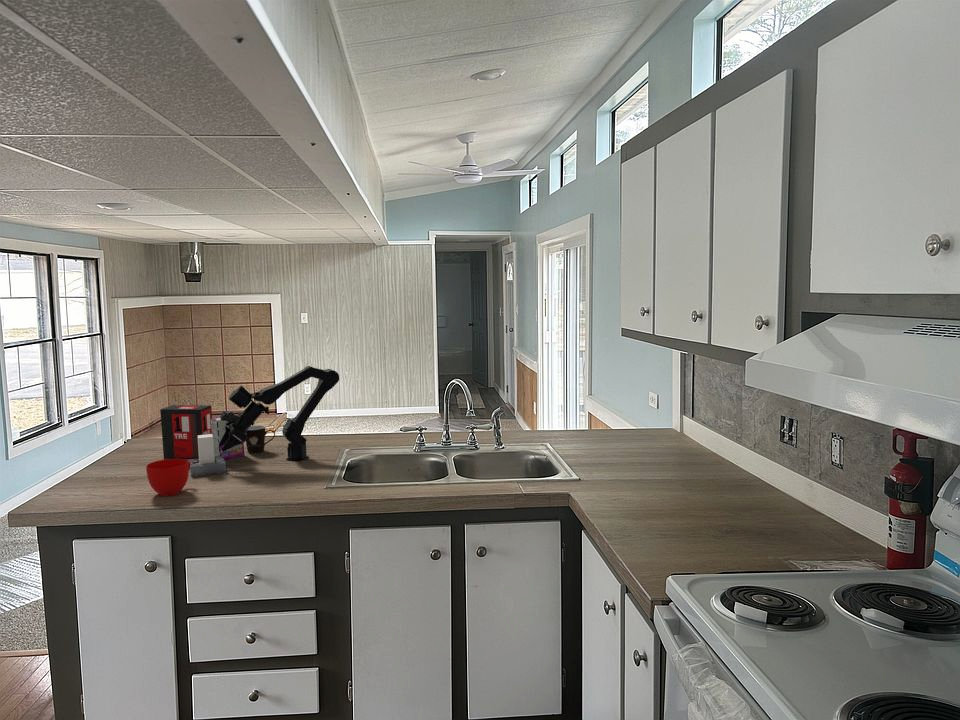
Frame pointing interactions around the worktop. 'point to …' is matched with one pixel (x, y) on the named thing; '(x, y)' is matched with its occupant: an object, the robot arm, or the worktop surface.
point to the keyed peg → (206, 449)
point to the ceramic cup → (168, 475)
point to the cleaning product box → (184, 429)
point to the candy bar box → (218, 433)
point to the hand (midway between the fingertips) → (220, 448)
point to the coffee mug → (256, 439)
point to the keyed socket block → (207, 466)
